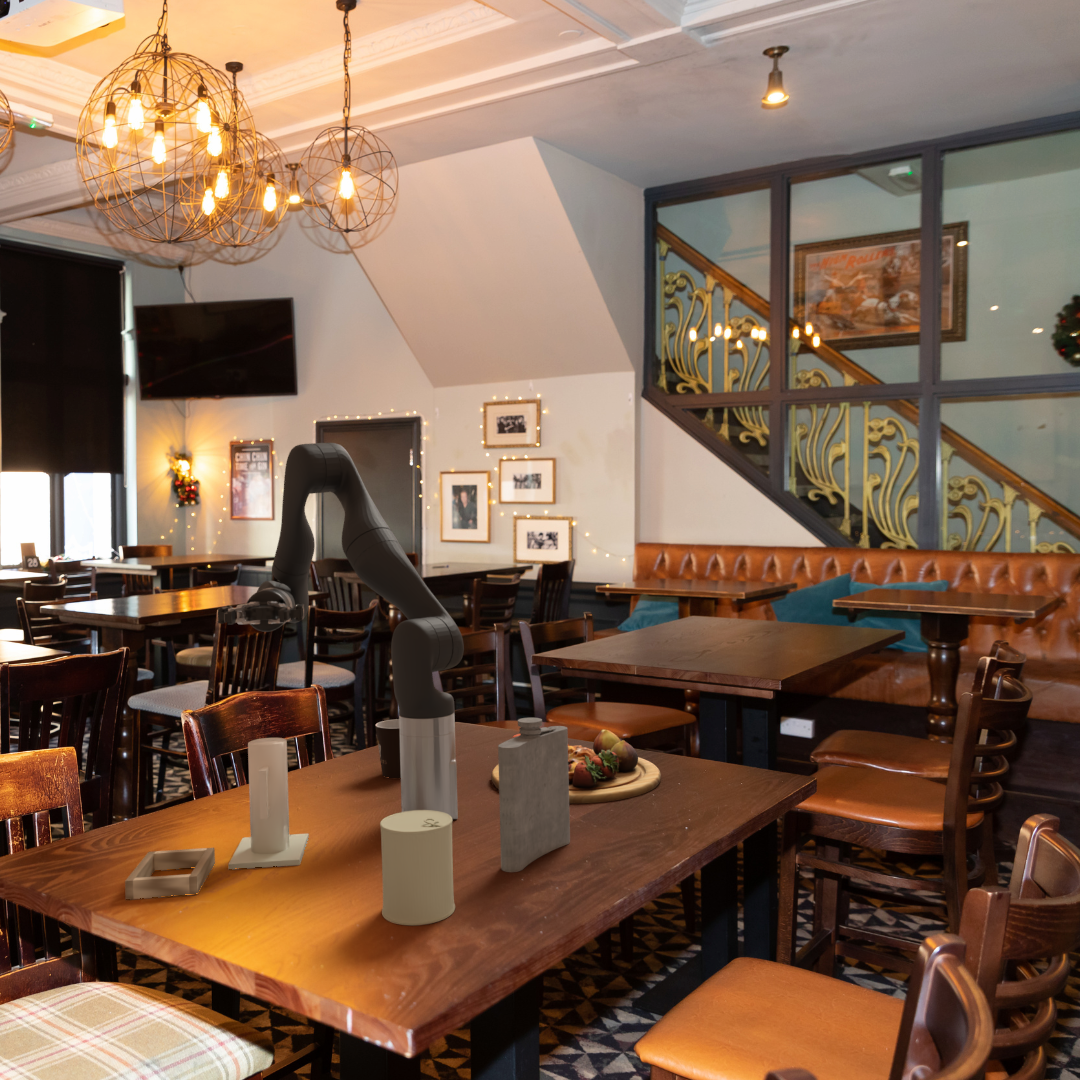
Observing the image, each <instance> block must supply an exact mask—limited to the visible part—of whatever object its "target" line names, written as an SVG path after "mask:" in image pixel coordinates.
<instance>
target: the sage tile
mask: <svg viewBox="0 0 1080 1080" xmlns="http://www.w3.org/2000/svg"><path fill="white" fill-rule="evenodd" d="M309 835H310V834H309V833H295V834H289V841H290V846H289V848H288V849H286V850H284V851H281V852H278V853H272V854H257V853H254V852H252V851H251V836H248V837H246V836H245V837H242V839H241V840H240V842H239V844H238V845H237V847H236V849H235V851H234V853H233V855H232V857H231V858H230V860H229V862H228V863H227V864H228V870H229V869H232V870H239V869H238V868H247V869H256V868H255V867H262V868H273V866H275V868H276V866H277V867H290V866H300V865H301V862H302V859H303V857H304V855H305V851H304V850H306V848H305V847H307V845H308V842H309V839H308V838H310V837H309ZM307 841H308V842H307ZM306 844H307V845H306ZM235 868H237V869H235Z"/></svg>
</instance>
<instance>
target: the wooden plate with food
mask: <svg viewBox="0 0 1080 1080" xmlns="http://www.w3.org/2000/svg"><path fill="white" fill-rule="evenodd" d="M520 735H521V734H520V733H517V734H515V735H513V736H512V737H511V738H510V739H512V738H514V737H517V736H520ZM568 774H569V805H571V804H577V805H578V804H596V803H597V804H598V803H606V802H607V803H608V802H614V801H619V800H620V801H621V800H626V799H630V798H634V797H637V796H641V795H644V794H647V793H648V792H651V791H653V790H654V789H656V787H657V788H658V786H659V784H660V783H661V779H662V774H661V771H660V768H658V767H657V765H655V764H654V763H652V762H651V761H649V760H647V759H644V758H642V757H639V755H638V752H637V751H636V749H635V748H634V747H633V746H632V745H631V744H629V743H628V742H627V741H625V740H624V739H623V740H621V739H620V737H618V735H616V734H615V733H613V732H612V731H611V730H608V729H601V730H600V732H599V733H598V734H597V736H596V737H595V739H594V741H593V745H592V749H591V748H589V747H586V746H585V747H584V746H583V745H581V744H580V745H579V744H578V745H570V744H569V743H568ZM490 778H491V782H492V783H493V785H494V786H495V788H496V789H498V790H499V763H498V764H496V766H495V767H494V768H493V770H492V771H491V776H490Z"/></svg>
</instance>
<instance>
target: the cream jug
mask: <svg viewBox="0 0 1080 1080" xmlns="http://www.w3.org/2000/svg"><path fill="white" fill-rule="evenodd" d="M287 741H288V740H287V739H286V738H282V737H265V738H264V737H263V738H257V739H253V740H251V741H248V742H247V754H248V755H247V756H248V757H247V758H248V759H247V760H248V786H249V789H248V791H249V793H248V795H249V821H250V822H249V824H250V830H249V832H250V837H251V851H252V852H254V853H257V854H272V853H278V852H281V851H284V850H286V849H288V848H289V846H290V841H289V835H290V815H289V813H290V812H289V811H290V810H289V809H290V808H289V779H288V778H289V776H288V772H289V771H288V770H289V769H288V748H287V747H288V743H287Z"/></svg>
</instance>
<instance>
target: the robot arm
mask: <svg viewBox="0 0 1080 1080" xmlns="http://www.w3.org/2000/svg"><path fill="white" fill-rule="evenodd" d="M287 455H288V456H287V460H286V462H285V467H284V468H285V469H284V481H283V491H282V494H283V495H282V504H281V505H282V506H281V507H282V509H281V510H282V511H281V523H280V525H281V526H280V531H279V538H278V543H277V546H276V550H275V554H274V559H273V563H272V566H271V573H272V576H273V577H274V579H276V580H277V581H275V580H265V581H263V582H262V583H261V584H260V585H259V587H258V588H257V591H256V592H255V593H253V594H252V595H251V596H250V597H249V598H248V600H247V602H246V603H241V604H238V605H236V607H234V606H232V605H226V606H222V607H219V608H217V624H220V625H223V624H225V623H227V625H234V624H236V623H237V624H238V625H250V626H251V627H252V628H254V629H255V630H256V631H259V632H264V633H269V632H274V631H276V630H278V629H280V627H282V626H283V625H285V624H286V623H290V624H297V623H300V622H301V621H303V620H304V618H305V617H306V616H307V614H308V612H309V611H308V610H309V606H310V605H309V604H310V603H309V602H310V601H309V599H310V597H309V595H310V594H309V585H308V584H309V583H308V580H309V579H308V578H309V577H308V576H309V573H310V568H311V565H312V560H313V557H314V553H315V537H314V533H313V530H312V527H311V526H310V523H309V521H308V519H307V515H306V511H305V509H306V504H307V503H306V502H307V500H308V497H309V496H310V494H311V495H312V494H322V493H332V494H333V495H335V496H336V497H337V499H338V501H339V503H340V504H341V507H342V508H343V511H344V519H343V524H342V525H343V526H342V532H341V548H342V551H343V553H344V555H345V558H346V559H347V561H348V562H349V564H350V567H352V569H353V571H354V572H355V574H356V576H357V577H358V578H359V579H360V581H361V582H362V583H363V584H364V585H365V586H367V587H368V588H369V589H371V590H372V591H374V592H375V593H376V594H377V595H379V596H380V597H382V598H384V599H385V601H388V602H389V603H391V604H392V605H393V606H394V607H396V608H397V609H398V610H400V612H401V613H402V614H403V615H404V617H405V618H407V619H406V620H403V621H401V622H399V623H398V625H397V626H396V627H395V629H394V630H393V633H392V637H391V643H390V645H391V646H390V647H391V648H390V655H391V667H392V678H393V679H392V681H393V690H394V692H393V693H394V696H395V700H396V703H397V705H398V719H399V727H400V767H401V779H400V798H401V801H400V802H401V803H400V805H401V806H400V807H401V812H405V811H414V810H432V811H440V812H444V813H446V814H449V815H450V816H451V817H452V820H457V819H459V818H458V817H459V816H458V812H459V811H458V807H459V806H458V778H457V776H458V775H457V769H458V768H457V758H456V755H457V754H456V725H455V722H456V721H455V701H454V700H455V699H454V697H453V695H452V694H450V693H448V692H444V691H440V690H439V689H437V688H436V687H435V684H434V676H433V673H435V672H441V671H444V670H446V671H447V670H450V669H452V668H454V667H456V666H457V665H458V664H460V662H461V661H462V659H463V656H464V651H465V648H464V647H465V646H464V638H463V636H462V632H461V631H460V628H459V627H458V625H457V624H456V622H455V620H454V619H453V618H452V616H451V615H450V614H449V612H448V611H447V610H446V608H445V607H443V605H442V604H441V603H440V602H439V600H438V599H437V597H436V596H435V595H434V593H433V592H432V591H431V589H430V588H429V587H428V586H427V584H426V583H425V581H424V580H423V579H422V577H421V575H420V574H419V572H418V571H417V570H416V567H414V565H413V563H412V562H411V560H410V559H409V558H408V556H407V553H406V552H405V550H404V548H403V547H402V546H401V543H400V542H399V540H398V539H397V537H396V536H395V533H394V532H393V530H392V529H391V528H390V526H389V524H388V523H387V522H386V520H385V519H384V518H383V515H382V514H381V512H380V511H379V509H378V508H377V505H376V503H374V502H375V501H373V499H372V497H371V495H370V494H369V491H368V490H367V488H366V485H365V483H364V482H363V479H362V477H361V475H360V473H359V471H358V468H357V466H356V464H355V463H354V460H353V459H352V457H351V455H350V454H349V452H348V451H347V450H346V449H345V447H343V446H342V444H338V443H335V442H319V443H318V442H316V443H299V444H297V445H295V446H294V447H292V448H291V450H290V451H289V453H288V454H287ZM278 581H279V582H278Z"/></svg>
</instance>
